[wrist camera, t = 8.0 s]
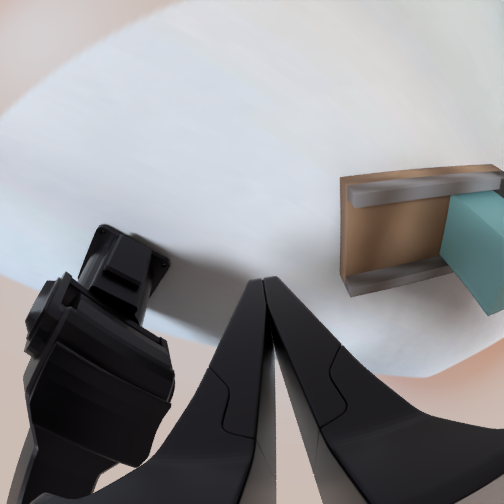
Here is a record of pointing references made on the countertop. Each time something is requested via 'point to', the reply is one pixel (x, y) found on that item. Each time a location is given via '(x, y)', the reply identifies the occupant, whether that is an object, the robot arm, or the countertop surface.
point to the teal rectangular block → (477, 246)
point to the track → (401, 223)
